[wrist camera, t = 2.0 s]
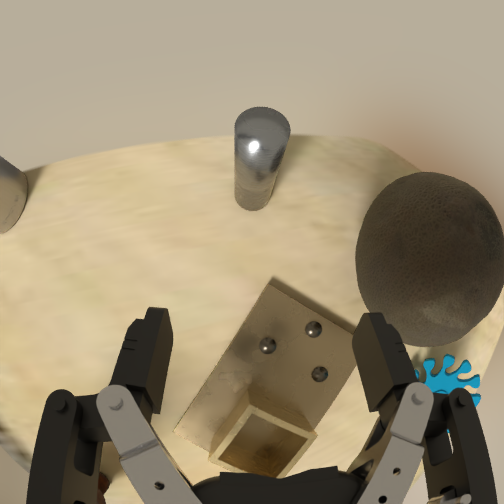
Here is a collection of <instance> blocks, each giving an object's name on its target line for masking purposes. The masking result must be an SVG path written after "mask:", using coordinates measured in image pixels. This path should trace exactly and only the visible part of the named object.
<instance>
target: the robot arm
mask: <svg viewBox="0 0 504 504" xmlns="http://www.w3.org/2000/svg"><path fill="white" fill-rule="evenodd" d="M27 190H28V186H27V179H26V176H25V175H24V173H23V172H21V171H20V170H19V169H17V168H16V167H15V166H13V165H12V164H10V163H9V162H8V161H7V160H5V159H4V158H3V157H1V156H0V234H1V233H4V232H6V231H8V230H9V229H10V228H11V227H12V226H13V225H14V224H15V223H16V221H17V220H18V218H19V217H20V214H21V212H22V210H23V208H24V205H25V202H26V197H27ZM124 339H125V340H124V341H123V344H122V349H121V350H120V353H119V356H118V360H117V363H116V366H115V369H114V372H113V376H112V379H111V382H110V383H109V385H108V386H107V387H105V388H104V389H102V390H101V391H100V393H98V394H94V395H86V396H74V395H73V394H72V393H71V392H69V391H68V390H64V389H59V390H56V391H54V392H52V393H51V394H50V395H49V397H48V398H47V401H46V404H45V407H44V411H43V415H42V418H41V422H40V426H39V430H38V434H37V439H36V443H35V448H34V453H33V458H32V464H31V470H30V476H29V483H28V491H27V500H26V504H96V501H97V488H98V478H99V469H100V461H101V453H102V446H103V442H108V441H113V443H114V445H115V447H116V449H117V451H118V453H119V456H120V457H119V460H120V463H121V465H122V467H123V469H124V471H125V473H126V475H127V476H128V478H129V480H130V481H131V483H132V485H133V486H134V488H135V490H136V491H137V493H138V494H139V496H140V497H141V499H142V500H143V502H144V503H145V504H402V502H403V500H404V498H405V496H406V494H407V492H408V490H409V488H410V485H411V483H412V481H413V479H414V476H415V474H416V472H417V469H418V467H419V464H420V462H421V459H423V465H424V470H425V477H426V483H427V489H428V498H429V501H428V502H427V504H498V503H497V495H496V489H495V483H494V477H493V472H492V467H491V462H490V458H489V453H488V449H487V445H486V442H485V437H484V434H483V430H482V427H481V424H480V420H479V417H478V414H477V411H476V407H475V404H474V402H473V399H472V396H471V394H470V393H469V392H468V391H467V390H466V389H464V388H455V389H453V390H452V391H451V392H450V393H449V394H443V393H434V392H432V391H431V390H430V388H429V387H428V386H426V385H425V384H423V383H420V382H419V380H418V378H417V376H416V373H415V370H414V368H413V365H412V363H411V360H410V358H409V355H408V353H407V352H406V348H405V346H404V344H403V341H402V338H401V336H400V334H399V332H398V331H397V330H396V329H395V327H394V326H393V325H392V324H387V322H386V320H385V318H384V316H383V314H382V313H381V312H374V313H364V314H363V315H362V317H361V319H360V322H359V324H358V326H357V328H356V330H355V332H354V335H353V338H352V349H353V352H354V356H355V359H356V363H357V366H358V370H359V374H360V377H361V381H362V385H363V388H364V392H365V396H366V400H367V404H368V408H369V412H375V411H379V415H380V416H379V417H378V419H377V421H376V423H375V425H374V427H373V429H372V431H371V433H370V435H369V437H368V439H367V441H366V443H365V445H364V447H363V449H362V450H361V452H360V454H359V455H358V456H357V457H356V459H355V460H354V461H353V462H352V464H351V465H350V467H349V468H348V470H347V472H344V471H338V467H337V466H333V467H326V468H318V469H310V470H307V471H304V472H301V473H298V474H295V475H292V476H288V477H285V478H274V477H268V476H263V475H258V474H254V473H235V472H220V476H216V477H212V478H208V479H206V480H203V481H201V482H199V483H197V484H195V485H194V486H193V485H192V483H191V482H190V481H189V480H188V478H187V477H186V476H185V474H184V473H183V471H182V470H181V469H180V467H179V466H178V465H177V463H176V462H175V461H174V459H173V458H172V457H171V455H170V454H169V452H168V451H167V449H166V448H165V446H164V444H163V443H162V441H161V440H160V438H159V437H158V435H157V433H156V432H155V430H154V428H153V427H152V425H151V423H150V422H151V417H152V413H154V414H160V411H161V405H162V399H163V393H164V388H165V382H166V377H167V372H168V366H169V361H170V356H171V351H172V346H173V331H172V326H171V322H170V317H169V312H168V309H167V308H157V307H149V308H148V309H147V312H146V315H145V318H144V319H136V320H135V321H134V322H133V323H132V324H131V325H130V326H129V327H128V330H127V333H126V335H125V338H124ZM447 430H449V433H450V437H451V441H452V446H453V454H452V449H451V445H450V441H449V436H448V432H447Z"/></svg>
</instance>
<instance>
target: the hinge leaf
mask: <svg viewBox="0 0 504 504" xmlns="http://www.w3.org/2000/svg"><path fill="white" fill-rule="evenodd" d="M352 338H353V334H351V333H349V332H348V331H346V330H344V329H343V328H341V327H339V326H338V325H336V324H334V323H333V322H331V321H329V320H327V319H326V318H324V317H322V316H321V315H319V314H317V313H316V312H314V311H312V310H311V309H309V308H307V307H306V306H304V305H303V304H301V303H299V302H298V301H296V300H294V299H293V298H291V297H289V296H288V295H286V294H284V293H283V292H281V291H279V290H278V289H276V288H275V287H273V286H271V285H270V284H267V286H266V288H265V289H264V291H263V292H262V294H261V296H260V297H259V299H258V301H257V302H256V304H255V305H254V307H253V309H252V310H251V312H250V313H249V315H248V317H247V318H246V320H245V321H244V323H243V325H242V326H241V328H240V329H239V331H238V333H237V334H236V336H235V337H234V339H233V341H232V342H231V344H230V345H229V347H228V348H227V350H226V352H225V353H224V355H223V356H222V358H221V359H220V361H219V362H218V364H217V366H216V367H215V369H214V370H213V372H212V373H211V375H210V376H209V378H208V379H207V381H206V382H205V384H204V385H203V387H202V388H201V390H200V392H199V393H198V395H197V396H196V398H195V399H194V401H193V402H192V404H191V405H190V407H189V408H188V410H187V411H186V413H185V414H184V416H183V417H182V418H181V420H180V421H179V423H178V424H177V426H176V427H175V429H174V431H173V432H174V433H176V434H177V435H179V436H181V437H183V438H184V439H186V440H188V441H190V442H192V443H193V444H195V445H197V446H199V447H201V448H203V449H205V450H207V451H209V457H208V461H210V462H212V463H214V464H216V465H219V466H221V467H223V468H225V469H227V470H230V471H232V472H235V473H254V474H258V475H263V476H268V477H274V478H284V477H285V476H286V475H287V473H288V472H289V471H290V470H291V469H292V468H293V466H294V465H295V464H296V463H297V462H298V460H299V459H300V458H301V457H302V456H303V454H304V453H305V452H306V450H307V449H308V448H309V447H310V445H311V444H312V443H313V441H314V440H315V439H316V437H317V436H318V435H317V434H316V432H315V431H314V429H315V427H316V426H317V425H318V423H319V422H320V420H321V419H322V417H323V416H324V415H325V413H326V412H327V410H328V409H329V407H330V406H331V404H332V403H333V401H334V400H335V398H336V397H337V395H338V394H339V392H340V391H341V389H342V387H343V386H344V384H345V383H346V381H347V379H348V378H349V376H350V375H351V373H352V371H353V370H354V368H355V366H356V364H357V363H356V359H355V356H354V352H353V349H352Z"/></svg>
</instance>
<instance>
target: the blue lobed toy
mask: <svg viewBox="0 0 504 504" xmlns="http://www.w3.org/2000/svg"><path fill="white" fill-rule="evenodd" d="M454 360H455V357H454V356H452V355H450V354H446V355H445V356H444V360H443V367H442V369H441V370H440V371H439V373H438V374H436V375H433V374H432V373H431V370H432V369H433V367H434V365H435V359H434V358H429V359H425V361H424V364H423V366H424V368H425V370H426V373H427V378H426V381H425V382H423V384H425V385H426V386H428V387H429V388H430V390H431V391H432V392H434V393H443V394H449V393H450V392H451V391H452V390H453V389H455V388H464V387H465V386H466V385H470V386H471V387H473V388H478V387H479V386H480V376H479V375H478V374H477V375H474V376H473V377H471V378H469V379H458V377H457V376H458V375H459V374H460V373H468V372H470V371H471V364H470V363H469V361H468V360H467V359H466V360H464V361H463V362H462V364H461V365H460V367H459V368H458V369H457V370H456V371H454V372H452V373H446V371H445V369H446V368H447V367H450V366H451V365H453V363H454ZM415 373H416V376H417V378H419V371H418V370H417V369H415ZM418 380H419V379H418ZM419 382H420V381H419ZM420 383H422V382H420ZM471 396H472V399H473V402H474V404H475V407H476V406H477V405H478V403H479V402H480V399H481V395H480V394H477V393H476V394H471ZM447 432H448V433H449V430H447Z"/></svg>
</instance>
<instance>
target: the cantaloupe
mask: <svg viewBox="0 0 504 504" xmlns="http://www.w3.org/2000/svg"><path fill="white" fill-rule="evenodd" d="M355 261H356V273H357V281H358V286H359V290H360V293H361V296H362V298H363V301H364V303H365V305H366V307H367V309H368V310H369V312H370V313H374V312H381V313H382V314H383V316H384V318H385V320H386V322H387V324H392V325H393V326H394V327H395V329H396V330H397V331H398V332H399V334H400V336H401V338H402V341H403V343H404V344H407V345H412V346H418V347H431V346H439V345H444V344H448V343H451V342H454V341H456V340H458V339H460V338H462V337H463V336H464V335H465V334H467V333H468V332H469V331H470V330H471V329H472V328H473V327H475V326H476V325H477V324H478V323H479V322H480V321H481V320H482V319H483V318H485V317H486V316H487V315H488V314H489V312H490V311H491V310H492V308H493V307H494V305H495V303H496V301H497V299H498V297H499V295H500V293H501V291H502V288H503V285H504V236H503V232H502V228H501V225H500V222H499V221H498V219H497V216H496V214H495V212H494V210H493V208H492V207H491V205H490V204H489V202H488V201H487V200H486V199H485V198H484V196H483V195H482V194H481V193H479V191H477V190H476V189H475V188H473V187H471V186H470V185H469V184H467V183H465V182H463V181H460V180H458V179H456V178H454V177H451V176H447V175H444V174H439V173H433V172H420V173H415V174H411V175H408V176H405V177H402V178H399V179H397V180H395V181H394V182H392V183H391V184H389V185H388V186H387V187H386V188H385V189H384V190H383V191H382V192H381V193H380V194H379V195H378V196H377V198H376V199H375V200H374V201H373V203H372V205H371V206H370V208H369V210H368V212H367V214H366V215H365V218H364V221H363V224H362V227H361V230H360V233H359V237H358V241H357V246H356V256H355Z"/></svg>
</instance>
